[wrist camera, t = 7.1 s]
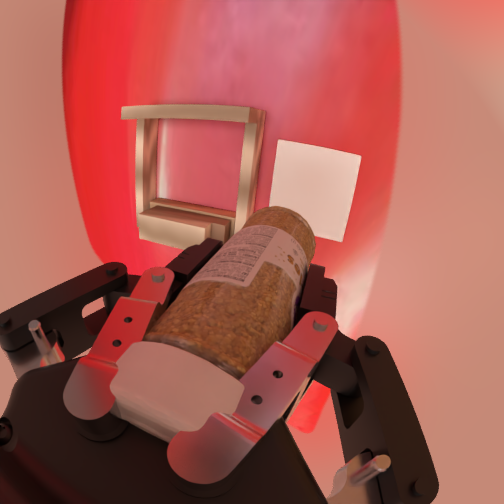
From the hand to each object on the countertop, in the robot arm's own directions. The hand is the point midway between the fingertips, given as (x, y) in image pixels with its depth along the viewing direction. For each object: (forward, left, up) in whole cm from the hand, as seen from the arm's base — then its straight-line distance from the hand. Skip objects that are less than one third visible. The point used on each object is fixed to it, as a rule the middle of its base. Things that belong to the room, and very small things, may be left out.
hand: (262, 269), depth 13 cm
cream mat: (0, +1, -19) cm, 19 cm away
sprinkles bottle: (0, 0, -4) cm, 4 cm away
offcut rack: (0, -13, -19) cm, 23 cm away
